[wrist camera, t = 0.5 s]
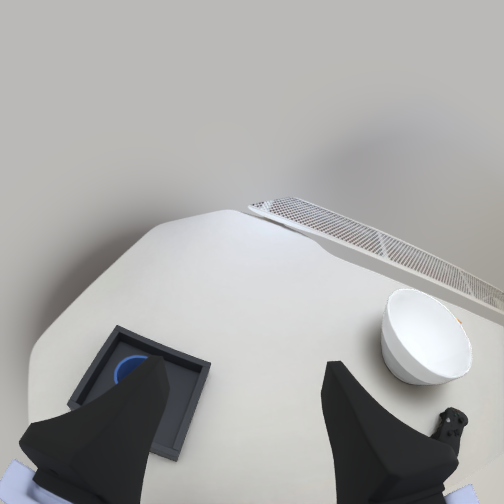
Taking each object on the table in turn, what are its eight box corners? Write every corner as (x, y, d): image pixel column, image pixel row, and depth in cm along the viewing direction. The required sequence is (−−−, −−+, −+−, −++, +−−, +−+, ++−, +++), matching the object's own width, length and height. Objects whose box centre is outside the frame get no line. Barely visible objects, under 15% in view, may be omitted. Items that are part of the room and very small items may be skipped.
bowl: (364, 305, 52) (386, 273, 47) (438, 339, 49) (462, 312, 44) (353, 385, 36) (386, 353, 32) (445, 416, 33) (479, 390, 28)
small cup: (155, 422, 26) (154, 408, 23) (111, 402, 26) (105, 386, 23) (171, 385, 30) (172, 367, 28) (130, 367, 30) (127, 348, 28)
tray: (176, 461, 23) (177, 457, 21) (72, 412, 23) (66, 404, 22) (208, 372, 33) (211, 362, 32) (118, 335, 33) (116, 324, 32)
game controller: (455, 464, 24) (459, 441, 24) (424, 462, 28) (426, 439, 28) (468, 422, 31) (471, 398, 31) (441, 422, 35) (443, 398, 35)
